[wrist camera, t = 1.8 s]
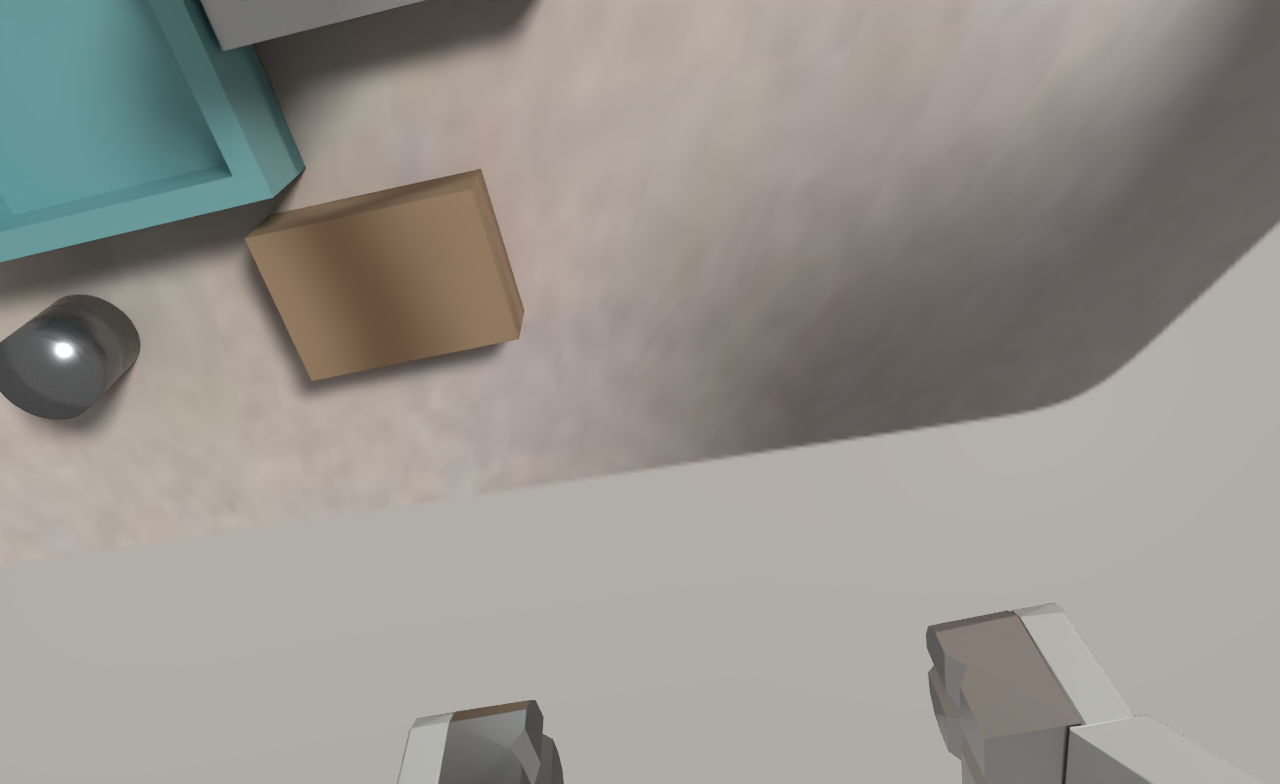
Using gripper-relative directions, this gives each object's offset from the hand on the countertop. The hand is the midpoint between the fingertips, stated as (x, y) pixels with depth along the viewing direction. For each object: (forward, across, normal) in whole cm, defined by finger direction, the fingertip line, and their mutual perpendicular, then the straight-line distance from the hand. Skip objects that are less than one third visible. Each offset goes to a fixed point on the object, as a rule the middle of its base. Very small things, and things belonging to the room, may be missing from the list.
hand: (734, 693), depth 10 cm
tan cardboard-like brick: (+20, +8, 0) cm, 21 cm away
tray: (+19, +15, -8) cm, 26 cm away
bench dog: (+19, +20, 0) cm, 27 cm away
